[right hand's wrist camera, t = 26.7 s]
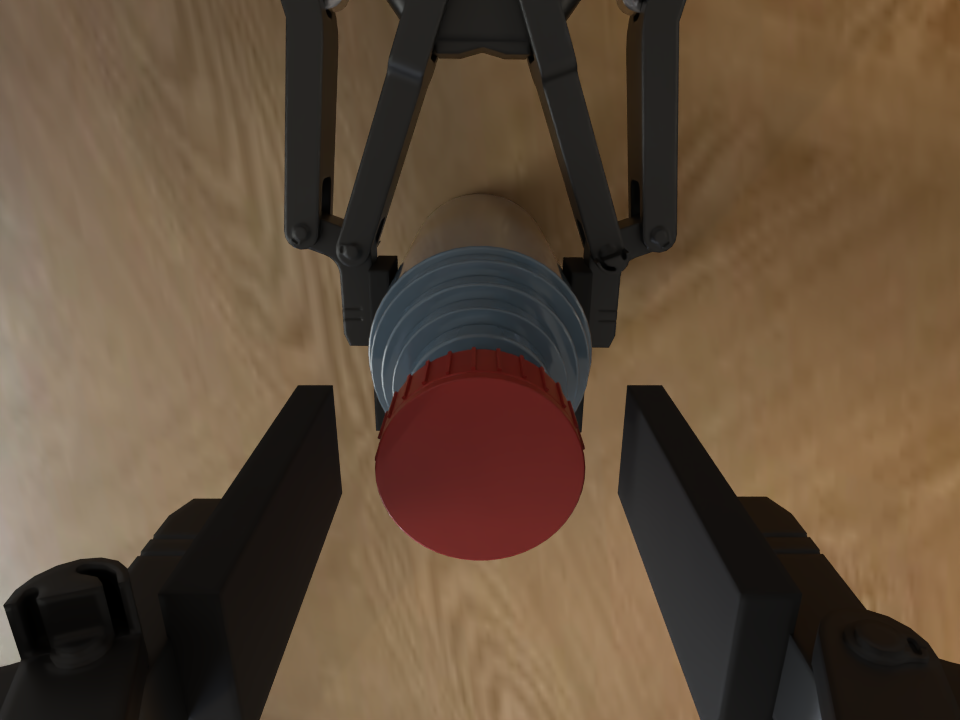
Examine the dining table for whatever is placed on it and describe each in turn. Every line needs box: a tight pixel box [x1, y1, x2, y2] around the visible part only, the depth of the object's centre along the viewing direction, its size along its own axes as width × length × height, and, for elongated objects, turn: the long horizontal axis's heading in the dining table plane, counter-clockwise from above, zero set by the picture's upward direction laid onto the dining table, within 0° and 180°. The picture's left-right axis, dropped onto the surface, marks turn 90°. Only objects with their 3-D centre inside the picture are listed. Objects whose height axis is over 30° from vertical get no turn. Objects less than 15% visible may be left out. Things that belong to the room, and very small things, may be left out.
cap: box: [375, 347, 585, 560], centre depth 14 cm, size 4×4×2 cm
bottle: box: [368, 194, 592, 413], centre depth 23 cm, size 7×7×19 cm
